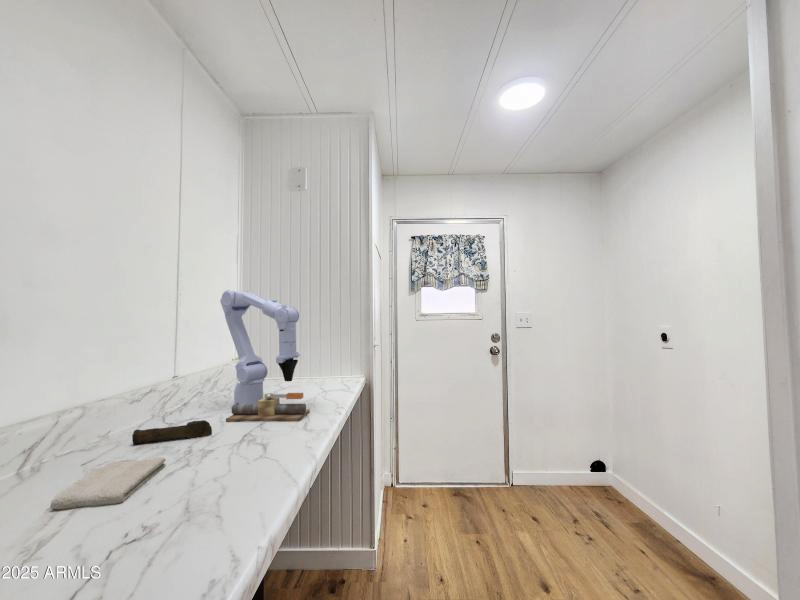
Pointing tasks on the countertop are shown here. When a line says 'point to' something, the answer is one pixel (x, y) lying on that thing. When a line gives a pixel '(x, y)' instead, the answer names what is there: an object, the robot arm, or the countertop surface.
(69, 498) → the washcloth
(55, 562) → the countertop surface
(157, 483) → the countertop surface
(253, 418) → the valve board
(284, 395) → the valve lever
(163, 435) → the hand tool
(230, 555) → the countertop surface
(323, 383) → the countertop surface
